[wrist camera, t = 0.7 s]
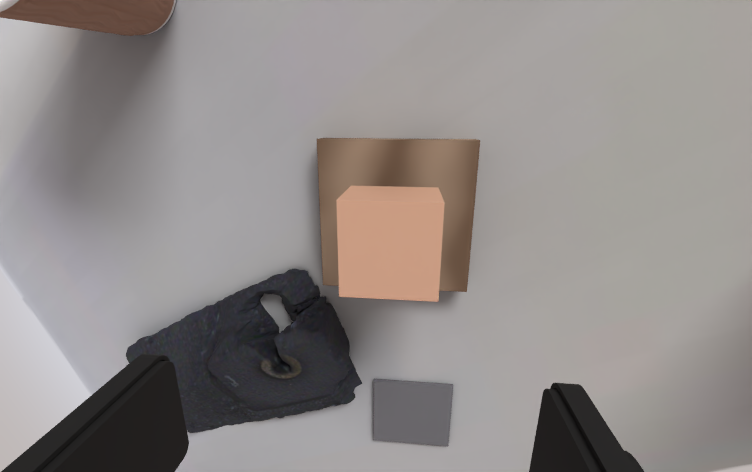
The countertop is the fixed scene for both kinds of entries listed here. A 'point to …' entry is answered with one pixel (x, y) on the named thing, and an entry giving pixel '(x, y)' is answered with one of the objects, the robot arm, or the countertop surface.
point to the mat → (412, 412)
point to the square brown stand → (403, 169)
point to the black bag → (257, 356)
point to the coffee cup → (93, 14)
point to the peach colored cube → (390, 242)
